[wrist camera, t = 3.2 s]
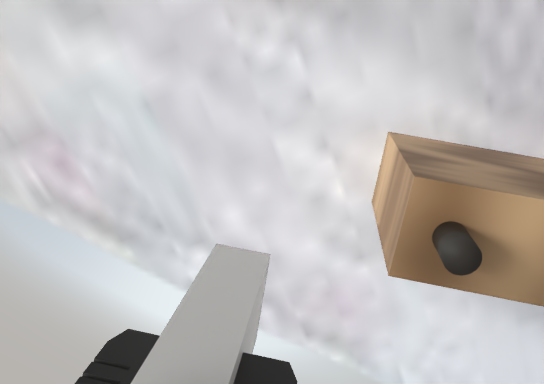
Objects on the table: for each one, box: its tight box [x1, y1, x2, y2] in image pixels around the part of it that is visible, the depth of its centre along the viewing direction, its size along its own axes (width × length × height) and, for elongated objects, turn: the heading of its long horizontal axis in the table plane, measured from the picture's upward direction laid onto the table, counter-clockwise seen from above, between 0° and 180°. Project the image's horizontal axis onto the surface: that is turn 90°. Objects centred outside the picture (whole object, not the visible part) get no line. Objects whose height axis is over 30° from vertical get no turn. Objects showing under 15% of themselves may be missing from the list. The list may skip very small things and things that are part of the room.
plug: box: [372, 132, 544, 306], centre depth 23 cm, size 13×4×12 cm, turn 81°
